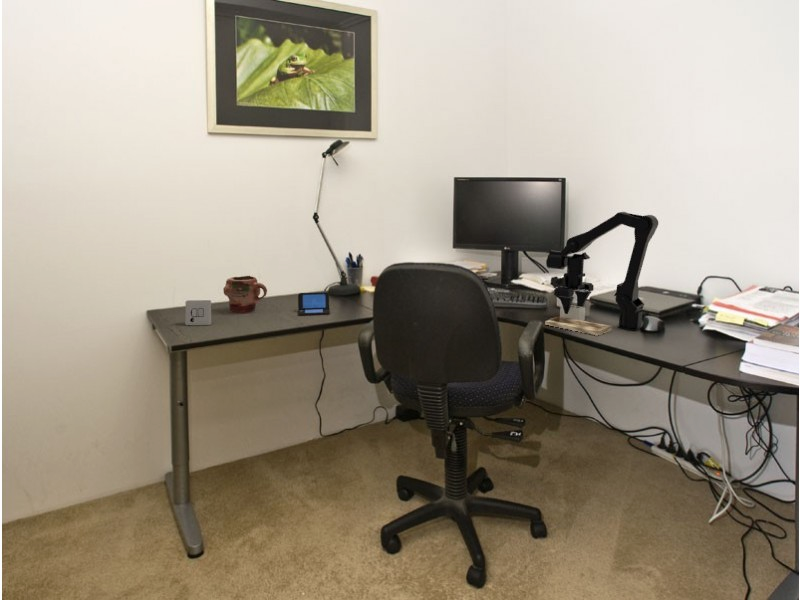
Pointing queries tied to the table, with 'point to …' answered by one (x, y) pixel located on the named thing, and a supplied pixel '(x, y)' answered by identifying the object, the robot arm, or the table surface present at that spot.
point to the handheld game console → (313, 304)
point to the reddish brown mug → (243, 293)
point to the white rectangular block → (574, 313)
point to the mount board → (578, 325)
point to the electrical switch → (198, 312)
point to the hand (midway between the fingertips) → (572, 311)
